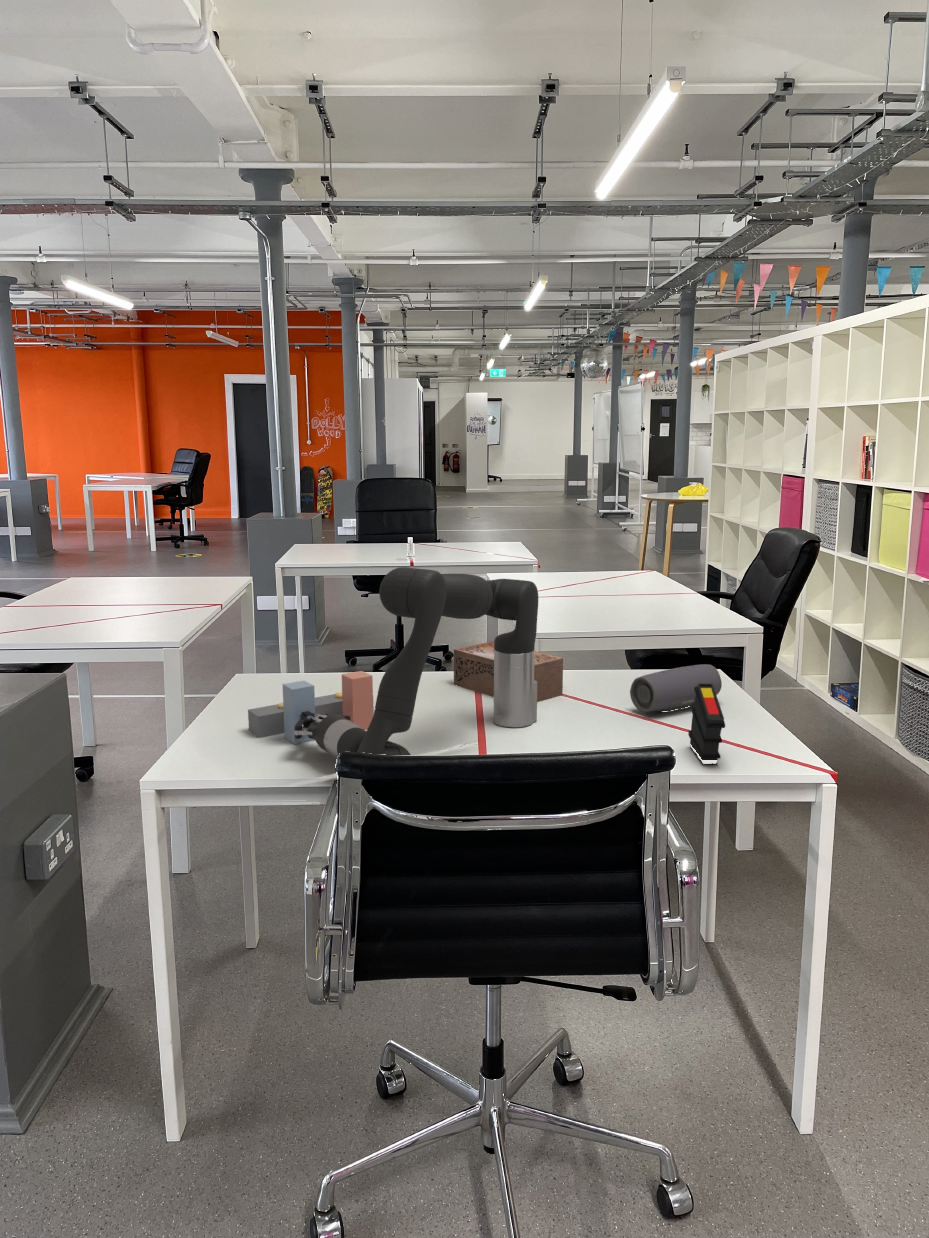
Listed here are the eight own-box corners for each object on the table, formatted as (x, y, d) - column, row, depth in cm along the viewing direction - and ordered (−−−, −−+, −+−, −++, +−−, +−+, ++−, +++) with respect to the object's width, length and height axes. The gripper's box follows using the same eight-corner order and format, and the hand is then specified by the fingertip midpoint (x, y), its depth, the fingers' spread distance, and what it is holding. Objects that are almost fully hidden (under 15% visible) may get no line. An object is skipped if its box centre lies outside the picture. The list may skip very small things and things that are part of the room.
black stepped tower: (702, 734, 193) (713, 682, 183) (715, 780, 182) (728, 727, 173) (684, 734, 193) (695, 682, 183) (697, 780, 182) (709, 727, 173)
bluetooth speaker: (693, 696, 227) (695, 658, 225) (722, 705, 219) (724, 666, 217) (627, 711, 215) (628, 671, 213) (654, 721, 207) (656, 679, 205)
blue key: (306, 733, 194) (304, 680, 192) (316, 739, 190) (314, 685, 188) (284, 737, 192) (282, 684, 189) (294, 744, 188) (292, 689, 185)
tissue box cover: (453, 685, 237) (453, 649, 235) (493, 676, 246) (493, 641, 244) (522, 707, 218) (523, 667, 216) (562, 696, 228) (563, 658, 226)
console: (360, 713, 213) (359, 685, 211) (401, 734, 197) (400, 705, 196) (248, 734, 197) (246, 705, 196) (283, 760, 182) (281, 728, 180)
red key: (362, 721, 202) (361, 670, 200) (373, 727, 198) (372, 675, 196) (343, 725, 199) (341, 674, 197) (353, 731, 195) (352, 679, 193)
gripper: (371, 714, 177) (332, 693, 191) (310, 726, 169) (274, 704, 183) (372, 750, 178) (333, 727, 192) (311, 763, 171) (275, 738, 185)
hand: (304, 716), depth 188 cm, fingers closed
